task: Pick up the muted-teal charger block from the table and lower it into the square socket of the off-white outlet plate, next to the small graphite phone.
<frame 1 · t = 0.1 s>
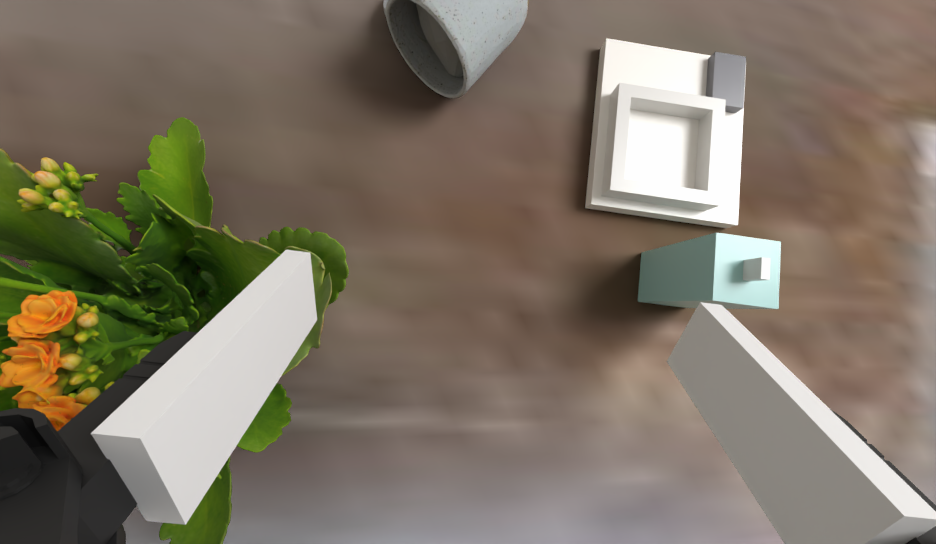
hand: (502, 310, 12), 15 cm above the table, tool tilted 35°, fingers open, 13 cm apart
outlet plate: (662, 137, 30), on the table
potted flower: (217, 314, 26), on the table
ceramic mug: (444, 47, 30), on the table
charger block: (663, 280, 29), on the table
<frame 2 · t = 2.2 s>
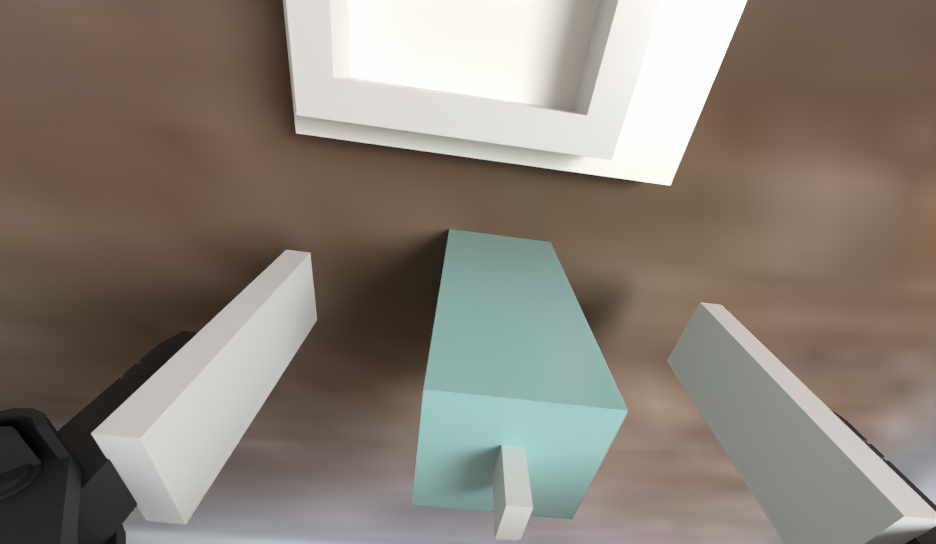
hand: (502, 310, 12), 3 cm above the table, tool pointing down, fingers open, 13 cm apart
charger block: (491, 279, 15), on the table
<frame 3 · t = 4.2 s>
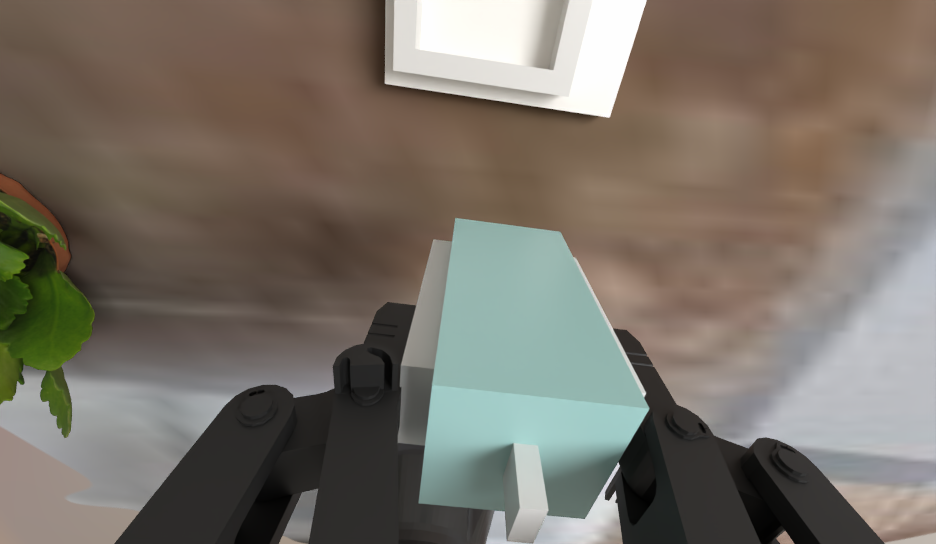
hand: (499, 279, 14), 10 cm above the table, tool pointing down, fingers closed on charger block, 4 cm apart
potted flower: (7, 215, 25), on the table
charger block: (499, 270, 14), point 10 cm above the table, touching gripper
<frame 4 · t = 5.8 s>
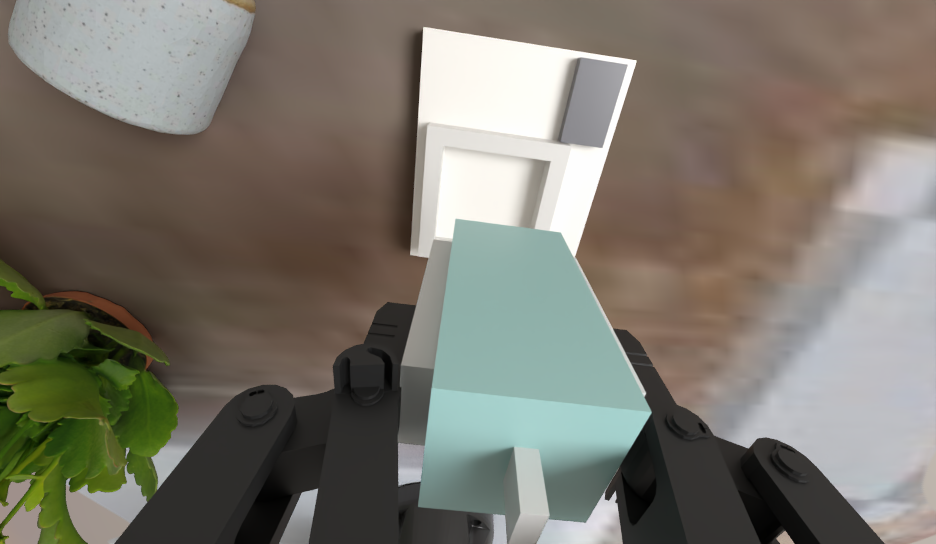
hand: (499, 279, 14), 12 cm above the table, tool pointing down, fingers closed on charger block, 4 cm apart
outlet plate: (506, 166, 24), on the table
potted flower: (107, 327, 32), on the table
ceramic mug: (178, 14, 20), on the table
charger block: (499, 271, 14), point 12 cm above the table, touching gripper
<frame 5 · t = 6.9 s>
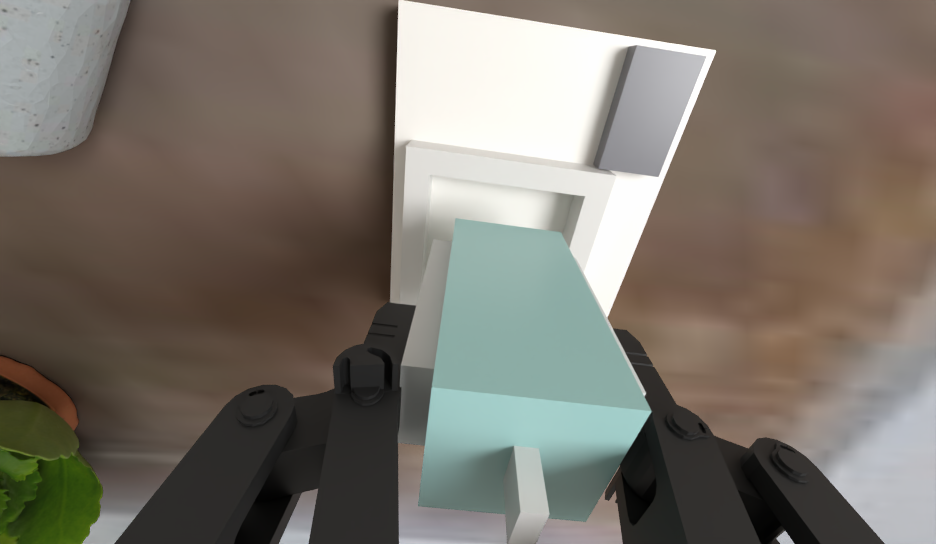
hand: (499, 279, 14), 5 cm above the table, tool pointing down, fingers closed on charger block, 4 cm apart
outlet plate: (519, 198, 18), on the table
potted flower: (17, 388, 26), on the table
charger block: (499, 270, 14), point 5 cm above the table, touching gripper
when the fingers open (3 cm above the table, at t = 7.5 s): charger block drops 1 cm, resting on outlet plate.
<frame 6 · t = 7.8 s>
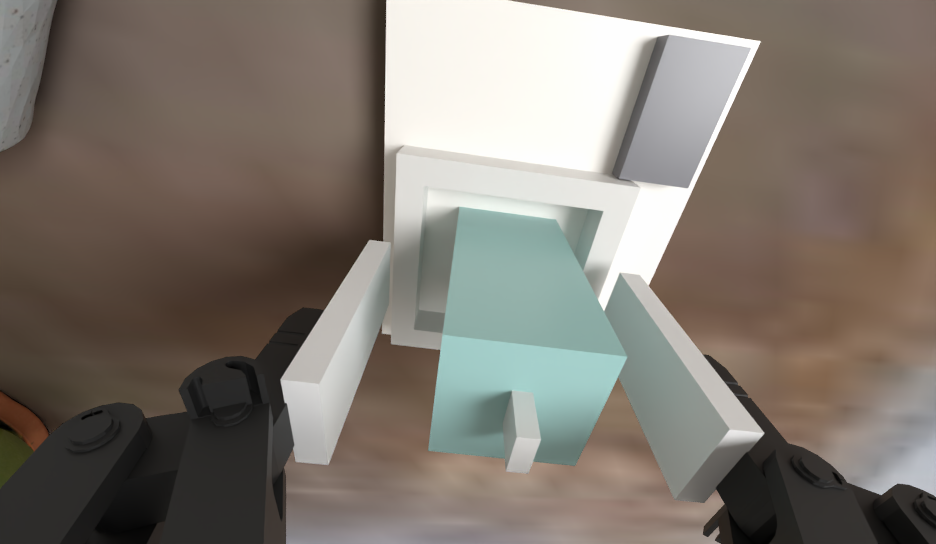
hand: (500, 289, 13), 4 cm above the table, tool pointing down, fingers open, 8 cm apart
outlet plate: (526, 209, 16), on the table
charger block: (499, 256, 15), point 1 cm above the table, touching outlet plate
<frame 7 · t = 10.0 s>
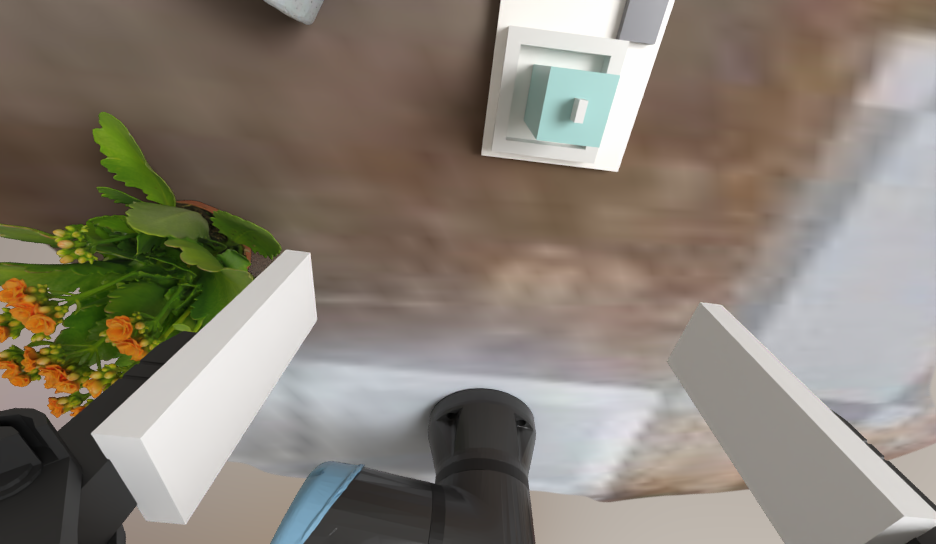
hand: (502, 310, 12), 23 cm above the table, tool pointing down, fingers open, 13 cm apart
outlet plate: (567, 70, 28), on the table
potted flower: (212, 237, 37), on the table
charger block: (553, 96, 28), point 1 cm above the table, touching outlet plate
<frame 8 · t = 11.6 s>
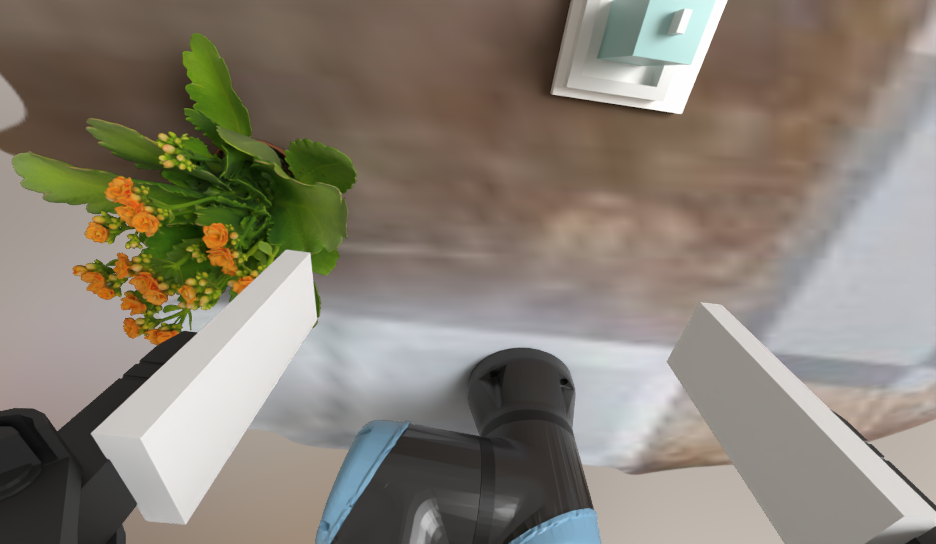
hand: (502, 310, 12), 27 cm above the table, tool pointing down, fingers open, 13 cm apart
outlet plate: (641, 11, 29), on the table
potted flower: (273, 180, 38), on the table
charger block: (628, 34, 29), point 1 cm above the table, touching outlet plate
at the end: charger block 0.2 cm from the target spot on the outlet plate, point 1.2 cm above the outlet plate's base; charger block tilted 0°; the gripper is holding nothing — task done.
